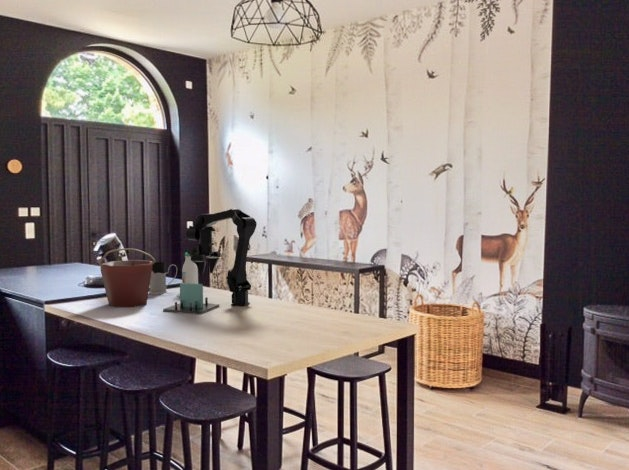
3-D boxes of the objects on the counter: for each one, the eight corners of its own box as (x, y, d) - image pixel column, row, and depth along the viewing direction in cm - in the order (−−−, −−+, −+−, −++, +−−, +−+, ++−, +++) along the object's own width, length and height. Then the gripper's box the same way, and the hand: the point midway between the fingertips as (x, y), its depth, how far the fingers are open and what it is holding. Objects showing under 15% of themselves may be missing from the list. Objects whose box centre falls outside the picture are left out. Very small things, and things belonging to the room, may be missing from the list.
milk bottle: (200, 291, 295) (199, 251, 293) (195, 293, 287) (194, 253, 286) (185, 290, 296) (184, 251, 294) (180, 293, 288) (179, 253, 287)
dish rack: (219, 306, 254) (218, 297, 254) (201, 314, 239) (200, 304, 239) (183, 304, 260) (182, 295, 260) (163, 311, 245) (163, 302, 245)
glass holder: (147, 292, 293) (146, 262, 292) (175, 289, 299) (175, 261, 298) (150, 294, 285) (149, 264, 284) (179, 292, 291) (178, 262, 290)
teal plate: (203, 306, 249) (202, 283, 248) (200, 307, 247) (200, 284, 246) (182, 305, 252) (182, 282, 251) (180, 306, 250) (179, 283, 249)
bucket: (92, 308, 252) (91, 251, 250) (109, 299, 274) (107, 246, 272) (149, 308, 252) (148, 250, 250) (161, 298, 274) (160, 246, 272)
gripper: (200, 239, 280) (200, 271, 281) (179, 242, 262) (180, 276, 263) (221, 239, 277) (221, 271, 278) (201, 242, 259) (202, 277, 260)
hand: (206, 274), depth 270 cm, fingers open, 9 cm apart
